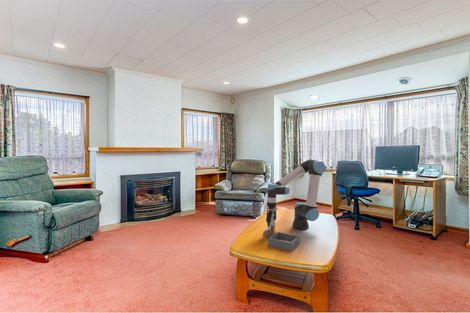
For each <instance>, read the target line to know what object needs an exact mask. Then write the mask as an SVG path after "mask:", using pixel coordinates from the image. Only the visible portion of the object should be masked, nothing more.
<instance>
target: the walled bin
mask: <svg viewBox="0 0 470 313" xmlns="http://www.w3.org/2000/svg"><path fill="white" fill-rule="evenodd" d="M276 232H277V233H275V234H274V235H272V236H271V237H269V238H267V242H268V243H267V244H268V245H267V247H271V248H274V249H280V250H283V251H287V252H292V251H294V250H295V249H296V248H297V247H298V246H299V245H300V243H301V235H297V234H292V233H286V232H281V231H276Z"/></svg>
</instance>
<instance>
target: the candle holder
mask: <svg viewBox="0 0 470 313" xmlns="http://www.w3.org/2000/svg"><path fill="white" fill-rule="evenodd" d="M265 209H266V211H267V210H271V211H273V213H272V215H271V221H270V222H271V230H267V229H265V230H264V231H262V232H263V233H262V234H263V235H264V237H265V238H266V239H268V238H269V237H271V236H272V235H274V234H275V233H277V232H278V231H276V230H275V229H276V220H275V221H274V219H273V217H274V216H275V215H274V211H275V210H276V211H277V210H278V209H279V208H278V207H277V206H276V207H275V208H273V209H269V207H268V206H265ZM274 226H275V227H274Z"/></svg>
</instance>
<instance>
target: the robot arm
mask: <svg viewBox="0 0 470 313" xmlns="http://www.w3.org/2000/svg"><path fill="white" fill-rule="evenodd" d="M326 168H327V167H326V164H325V163H324V161H323V160H319V159H307V160H305V161H303V162H301V163H300V164H298V166H297V167H296V168H294V169H293V170H292V171H290V172H289V173H288V174H286V175H285V176H283V177H282V178H281V179H279V180H278V181H276V182H273V183H267V192H266V193H267V197H266V200H267V202H266V205H267V206H266V207H269V209H273V208H275V207H277V196H280V195H281V196H282V195H284V196H285V195H289V194H290V187H289V184H291V183H292V182H293V181H295V180H296V179H298V178H299V177H300V176H302V175H305V174H308V175H309V180H308V187H307V194H306V201H305V202H296V203H295V204H294V213H293V214H294V219H293V221H292V223H291V224H292V228H294V229H297V230H308V229H309V228H310V225H309V221H310V222H314V221H315V222H316V220H318V218H319V217H320V211H319V210H318V204H317V200H318V195H319V194H318V193H319V185H320V180H321V177H323V174H324V173H325V171H326ZM272 213H273V211H271V210H267V209H266V218H265V222H266V226H267V229H266V230H271V222H270V221H271V215H272ZM274 215H275V216H274V217H273V219H274V221H275V222H276V221H277V210H275V211H274ZM274 227H275V228H276V225H275V226H274Z"/></svg>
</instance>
